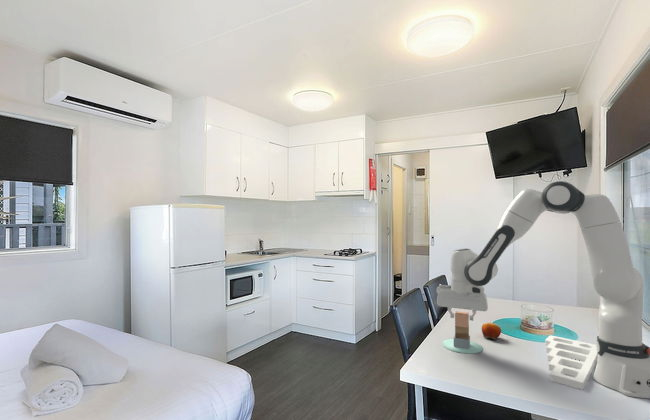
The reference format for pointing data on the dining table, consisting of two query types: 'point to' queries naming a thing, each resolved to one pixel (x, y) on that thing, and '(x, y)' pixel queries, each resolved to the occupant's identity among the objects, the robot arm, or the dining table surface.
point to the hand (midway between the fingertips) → (461, 318)
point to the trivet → (570, 360)
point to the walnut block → (462, 332)
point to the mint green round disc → (462, 345)
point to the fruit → (491, 330)
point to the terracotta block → (462, 319)
